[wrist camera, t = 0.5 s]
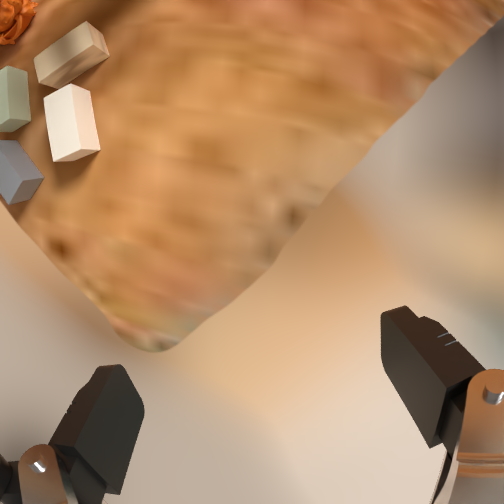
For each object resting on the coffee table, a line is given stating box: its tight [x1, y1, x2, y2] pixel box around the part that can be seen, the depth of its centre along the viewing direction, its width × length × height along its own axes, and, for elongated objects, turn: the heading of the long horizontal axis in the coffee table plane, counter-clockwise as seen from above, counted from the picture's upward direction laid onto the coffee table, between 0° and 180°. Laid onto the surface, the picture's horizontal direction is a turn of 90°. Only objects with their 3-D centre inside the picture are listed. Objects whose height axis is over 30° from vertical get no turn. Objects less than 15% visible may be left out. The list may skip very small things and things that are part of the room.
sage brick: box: [0, 65, 31, 132], centre depth 27 cm, size 8×4×5 cm, turn 12°
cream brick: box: [44, 83, 100, 162], centre depth 29 cm, size 8×4×5 cm, turn 13°
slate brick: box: [0, 140, 44, 205], centre depth 30 cm, size 8×4×5 cm, turn 42°
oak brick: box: [34, 21, 110, 89], centre depth 26 cm, size 8×4×5 cm, turn 112°
